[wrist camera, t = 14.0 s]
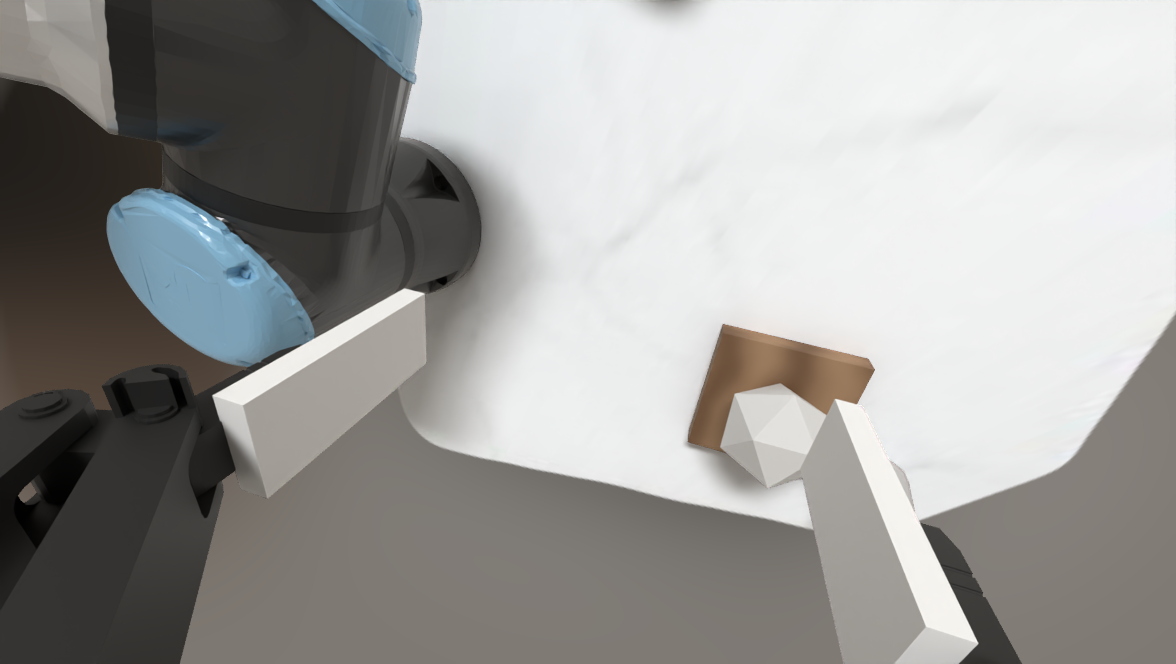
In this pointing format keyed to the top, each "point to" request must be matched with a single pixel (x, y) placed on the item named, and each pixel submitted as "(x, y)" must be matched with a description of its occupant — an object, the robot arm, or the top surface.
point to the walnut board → (772, 377)
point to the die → (771, 433)
